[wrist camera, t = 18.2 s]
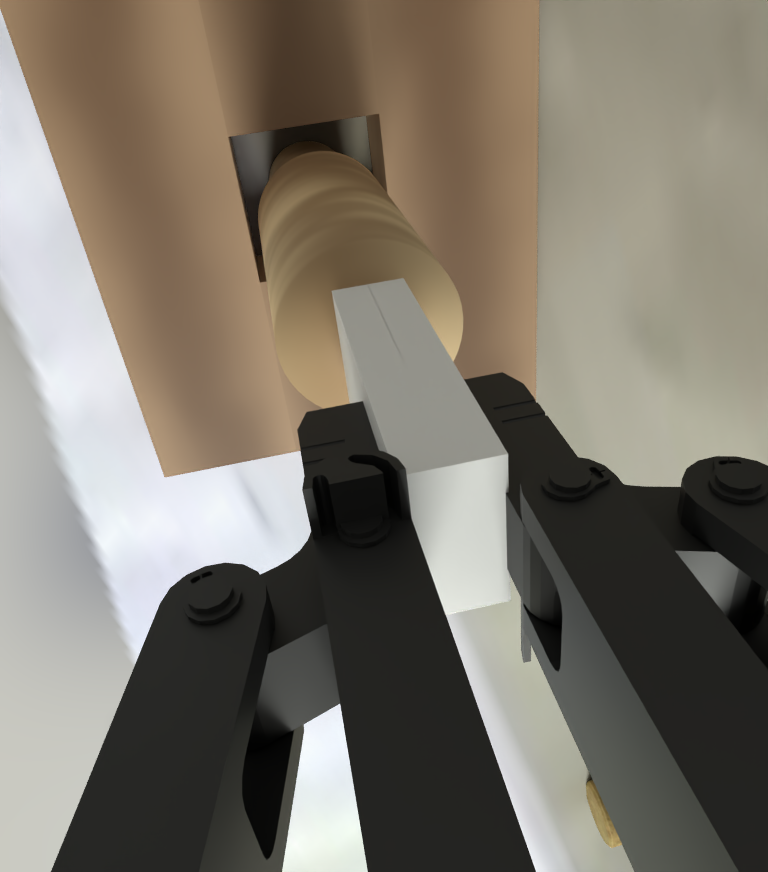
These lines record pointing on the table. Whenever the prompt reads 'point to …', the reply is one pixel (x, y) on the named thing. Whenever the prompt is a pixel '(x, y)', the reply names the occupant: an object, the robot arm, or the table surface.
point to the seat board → (223, 196)
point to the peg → (338, 262)
